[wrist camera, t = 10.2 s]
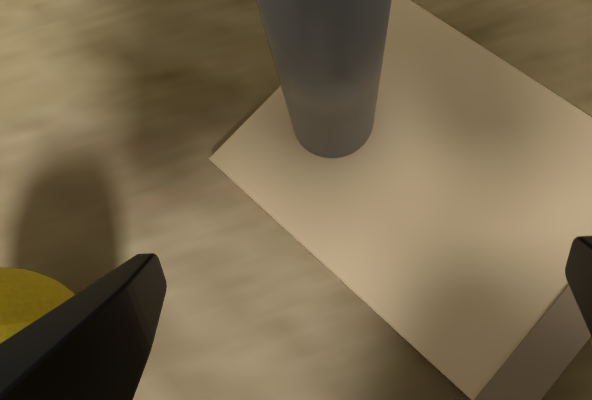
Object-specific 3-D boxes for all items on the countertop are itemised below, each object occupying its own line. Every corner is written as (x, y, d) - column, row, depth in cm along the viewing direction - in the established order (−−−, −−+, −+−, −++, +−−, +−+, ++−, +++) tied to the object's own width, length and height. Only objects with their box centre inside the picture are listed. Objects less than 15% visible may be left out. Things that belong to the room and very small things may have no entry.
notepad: (693, 194, 17) (707, 189, 16) (504, 430, 15) (511, 436, 15) (381, -9, 21) (382, -20, 20) (212, 163, 20) (207, 157, 19)
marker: (393, 115, 19) (492, -285, 6) (335, 177, 18) (315, -115, 6) (329, 67, 20) (301, -364, 7) (273, 124, 19) (138, -225, 7)
